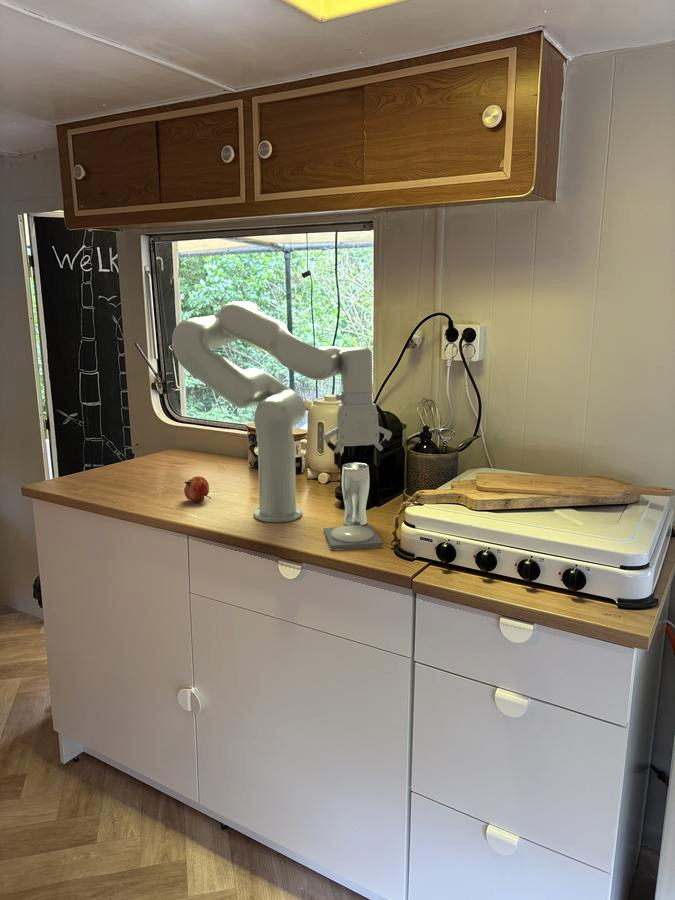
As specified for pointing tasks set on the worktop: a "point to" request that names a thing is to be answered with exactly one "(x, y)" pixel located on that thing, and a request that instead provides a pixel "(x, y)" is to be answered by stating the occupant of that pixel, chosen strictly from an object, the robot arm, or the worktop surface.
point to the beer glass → (355, 493)
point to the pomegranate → (196, 489)
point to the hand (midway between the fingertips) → (357, 466)
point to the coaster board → (352, 537)
